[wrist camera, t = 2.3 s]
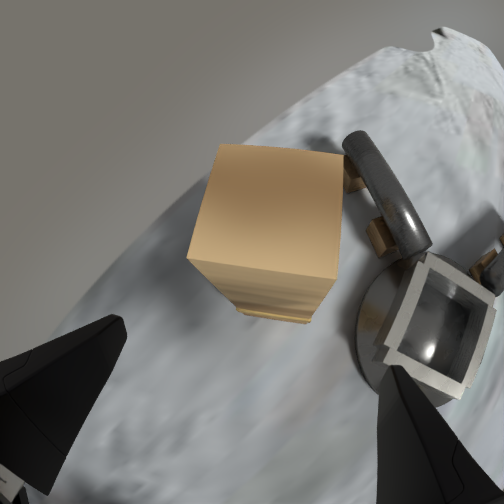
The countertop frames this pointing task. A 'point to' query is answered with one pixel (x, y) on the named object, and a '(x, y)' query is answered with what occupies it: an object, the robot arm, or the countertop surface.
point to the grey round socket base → (425, 325)
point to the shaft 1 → (383, 199)
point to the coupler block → (271, 229)
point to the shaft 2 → (490, 271)
